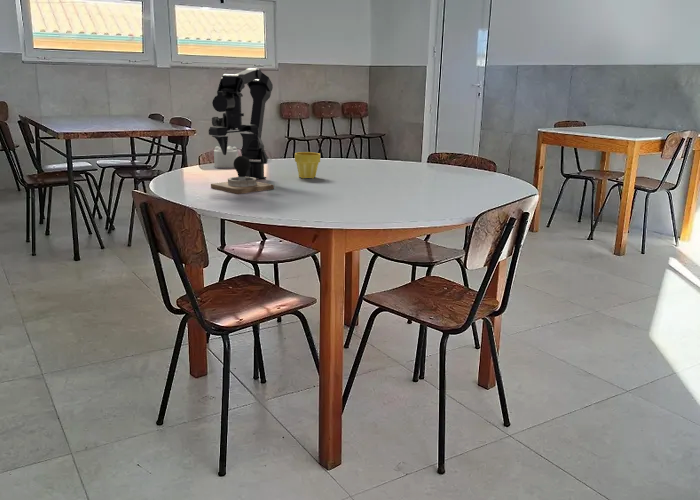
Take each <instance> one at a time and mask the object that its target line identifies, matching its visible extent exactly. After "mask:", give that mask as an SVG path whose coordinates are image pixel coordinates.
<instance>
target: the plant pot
mask: <svg viewBox="0 0 700 500" xmlns="http://www.w3.org/2000/svg"><path fill="white" fill-rule="evenodd" d="M294 162H295V163H296V167H297V174H298V177H299V178H300V177H301V178H300V179H304V178H312V179H315V178H316V176H317V171H318V166H319V163H321V153H319V152H311V151H300V152H299V151H298V152H295V153H294ZM314 177H315V178H314Z"/></svg>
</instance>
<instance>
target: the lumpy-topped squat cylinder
mask: <svg viewBox="0 0 700 500" xmlns="http://www.w3.org/2000/svg"><path fill="white" fill-rule="evenodd" d="M238 151H239V150H238V147H236V146H233V147H232V146H231V145H227V153H226V155H223V152H222V150H221V147H220V146H218V145H217V146H215V147H214V150H213V157H214V158H213V161H214V162H213V163H214V166H213V167H214V168H218V169H219V168H222V169H223V168H224V169H225V168H228V169H231V168H234V165H233V164H234V160H235V159H236V158H237V157H239V152H238ZM234 169H235V168H234Z"/></svg>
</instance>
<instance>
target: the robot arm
mask: <svg viewBox="0 0 700 500" xmlns="http://www.w3.org/2000/svg"><path fill="white" fill-rule="evenodd" d="M245 85H247V87H248V88H249V93H250V96H251V98H252V107H251V115H250V122H249V123H248V124H245V123H244V124H243V119H242V118H243V117H244V116H245V114H244V113H243V112H242V97H243V96H244V95H243V94H242V91H243V89H245V87H246V86H245ZM273 88H274V87H273V82H272V80H271V79H270V77H269V76H267V74H265V73H264V72H262V70H261V68H258V67H256V68H255V67H249V68H246V69H244V70H242V71H240V72H237V73H234V74H233V73H223V75H222V76H221V78H220V81H219V85H218V87H217V91H216V94H217V95H214V97H213V99H212V101H211V103H212V106H213V107H212V108H213V109H214V110H215V111H217V112H218V113H222V117H219V116H213V117H212V118H211V126H209V128H208V136H211V137H213V138H215V139H216V141H217V142H218V144H219V147H220V148H221V150H222V152H223V155H226V153H227V147H228V140H229V136H228V135H227V134H231V133H232V134H233V133H240V136H241V138H242V146H241V149H240V150H241V151H240V154H241V156H245V157H246V158H248V160H249V161H250V167H249V169H248V171H247V174H246V177H253V178H256V179H257V180H263V179H264V180H265V179H267V176H265V164H266V165H267V164H268V158H269V157H268V155H267V153H266V151H265V145H264V142H263V140H262V131H263V125H264V118H265V117H264V115H265V108H266V103H267V102H268V100H269V99H270V98H271V96H272V92H273Z"/></svg>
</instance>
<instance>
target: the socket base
mask: <svg viewBox="0 0 700 500" xmlns="http://www.w3.org/2000/svg"><path fill="white" fill-rule="evenodd" d="M257 180H258V179H256V178H253V177H246V181H239V177H238V176H233V177H228V178H227V181H222V182H215V183H210V189H214V190H219V191H223V192H227V193H231V194H236V195H241V194H248V193H254V192H261V191H262V192H263V191H268V190H269V191H270V190H274V188H275V186H274V184H271V183H266V182H260V181H257Z"/></svg>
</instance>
